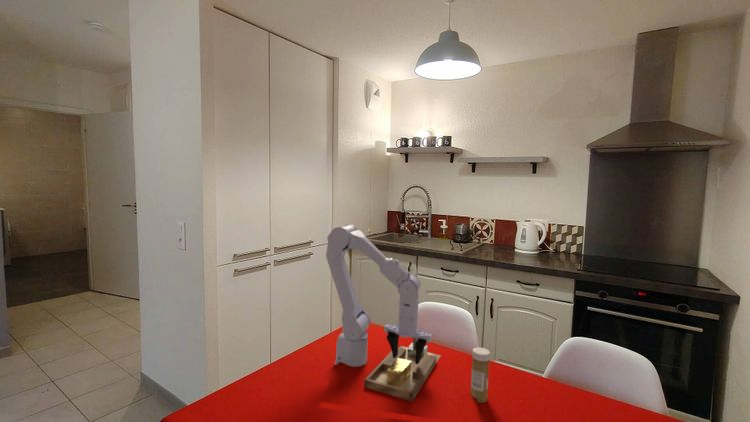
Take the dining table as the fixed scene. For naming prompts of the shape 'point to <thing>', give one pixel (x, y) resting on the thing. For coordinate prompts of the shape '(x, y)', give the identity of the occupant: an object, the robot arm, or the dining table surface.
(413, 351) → the brushed metal block
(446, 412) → the dining table surface
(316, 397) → the dining table surface
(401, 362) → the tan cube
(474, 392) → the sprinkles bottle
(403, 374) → the golden brown cube
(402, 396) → the slot board
